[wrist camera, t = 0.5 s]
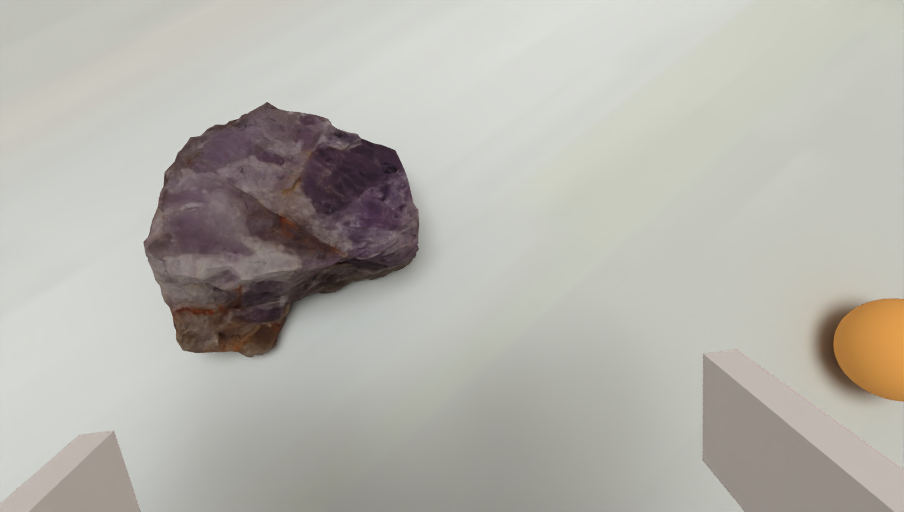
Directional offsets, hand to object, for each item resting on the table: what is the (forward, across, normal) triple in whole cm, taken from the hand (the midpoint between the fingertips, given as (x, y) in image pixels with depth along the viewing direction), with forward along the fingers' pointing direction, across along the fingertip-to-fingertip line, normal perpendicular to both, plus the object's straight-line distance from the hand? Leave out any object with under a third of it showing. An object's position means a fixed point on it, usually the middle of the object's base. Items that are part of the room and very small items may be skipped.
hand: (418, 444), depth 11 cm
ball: (+14, -25, +8) cm, 30 cm away
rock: (+18, +7, -1) cm, 20 cm away
